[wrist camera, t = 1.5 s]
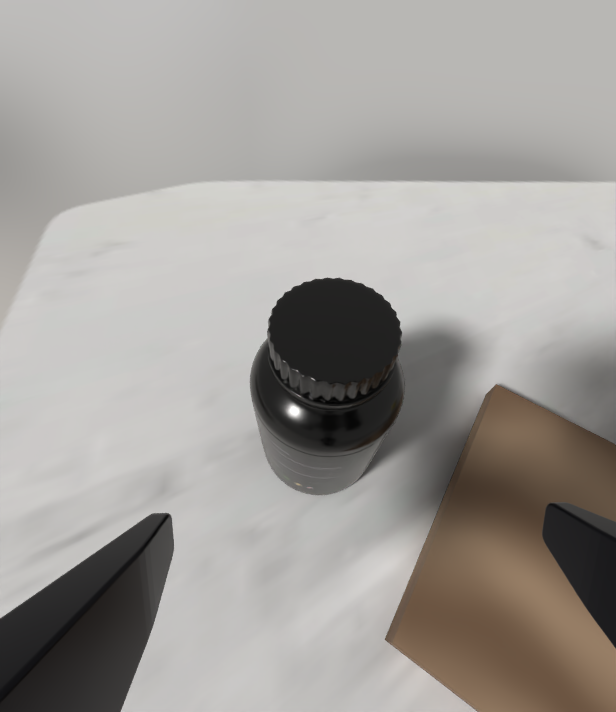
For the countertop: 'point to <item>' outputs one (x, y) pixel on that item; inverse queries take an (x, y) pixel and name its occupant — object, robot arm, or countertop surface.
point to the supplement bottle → (327, 383)
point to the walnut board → (511, 569)
